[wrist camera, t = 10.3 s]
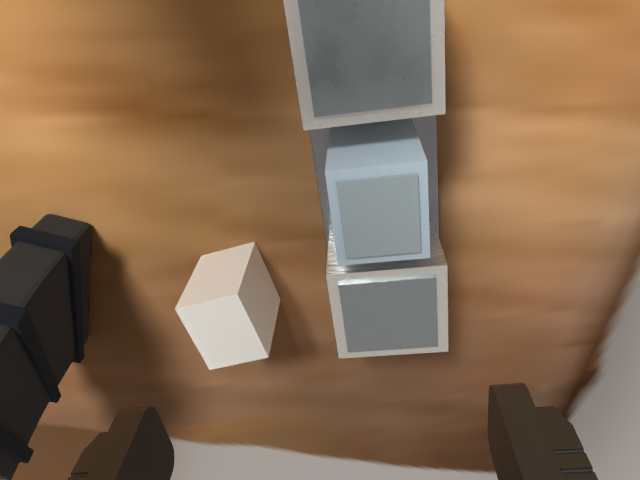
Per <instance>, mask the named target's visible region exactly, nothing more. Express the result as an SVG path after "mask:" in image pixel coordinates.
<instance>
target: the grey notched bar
mask: <svg viewBox="0 0 640 480" xmlns="http://www.w3.org/2000/svg"><path fill="white" fill-rule="evenodd" d="M283 2H284V9H285V15H286V22H287V28H288V35H289V41H290V47H291V54H292V60H293V67H294V73H295V80H296V86H297V92H298V99H299V105H300V112H301V118H302V125H303V131H304V130H310V136H311V142H312V149H313V156H314V163H315V169H316V176H317V183H318V189H319V196H320V203H321V209H322V216H323V223H324V230H325V236H326V243H327V250H328V255H327V268H326V279H327V285H328V292H329V298H330V305H331V311H332V317H333V324H334V330H335V337H336V343H337V350H338V356H339V358H355V357H371V356H387V355H402V354H418V353H434V352H448V275H447V262H446V259H445V256H444V252H443V249H442V246H441V243H440V239H439V212H438V163H437V115H441V114H446V103H445V17H444V0H283ZM407 118H412V120H413V123H414V126H415V129H416V131H417V134H418V137H419V139H420V142H421V145H422V148H423V150H424V153H425V156H426V159H427V166H428V198H429V231H430V258H424V259H412V260H400V261H388V262H377V263H365V264H353V265H341V266H338V263H337V255H336V248H335V241H334V234H333V227H332V220H331V212H330V205H329V198H328V191H327V184H326V177H325V166H326V158H327V149H328V141H329V133H330V127H339V126H347V125H356V124H364V123H373V122H381V121H390V120H399V119H407Z"/></svg>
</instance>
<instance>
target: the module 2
mask: <svg viewBox="0 0 640 480" xmlns="http://www.w3.org/2000/svg"><path fill="white" fill-rule="evenodd" d="M325 177H326V184H327V191H328V198H329V205H330V212H331V220H332V227H333V234H334V241H335V248H336V255H337V263H338V266H341V265H353V264H365V263H377V262H388V261H400V260H412V259H424V258H430V231H429V198H428V166H427V159H426V156H425V153H424V150H423V148H422V145H421V142H420V139H419V137H418V134H417V131H416V129H415V126H414V123H413V120H412V118H407V119H399V120H390V121H381V122H373V123H364V124H356V125H347V126H339V127H330V133H329V141H328V149H327V158H326V166H325Z"/></svg>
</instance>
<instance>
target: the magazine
mask: <svg viewBox="0 0 640 480" xmlns="http://www.w3.org/2000/svg"><path fill="white" fill-rule="evenodd" d="M10 239H11V245H12V248H11V249H10V250H9V251H8V252H7V253H6V254H5V255H4V256H3V257H2V258H1V259H0V479H4V480H11V479H12V477H13V475H14V473H15V471H16V468H17V466H18V464H19V462H24V463H28V462H29V460H30V458H31V456H32V454H33V450H32V449H31V448H29V447H28V446H27V445H28V443H29V441H30V438H31V436H32V434H33V432H34V430H35V428H36V426H37V424H38V422H39V419H40V418H41V416H42V414H43V412H44V410H45V408H46V406H47V404H48V403H49V401H50V402H55V403H57V402H58V401H59V399H60V397H61V394H60V392H59V389H58V385H59V383H60V381H61V379H62V378H63V376H64V374H65V373H66V371H67V369H68V368H69V366H70V365H71V363H72V362H77V363H81V361H82V360H83V358H84V343H85V342H86V340H87V337H88V306H89V274H90V242H91V226H90V224H88V223H85V222H81V221H77V220H73V219H69V218H65V217H61V216H57V215H53V214H48V215H45V216H44V217H43V218H42V219H41V220H40V221H39V222H38V223H37V224H36V225H35V226H34V227H33V228H27V227H23V226H19V227H18V228H17V229H15V230H14V231H13V232H12V233H11V234H10Z"/></svg>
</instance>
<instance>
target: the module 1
mask: <svg viewBox="0 0 640 480" xmlns="http://www.w3.org/2000/svg"><path fill="white" fill-rule="evenodd" d="M279 304H280V297H279V295H278V293H277V290H276V288H275V286H274V284H273V281H272V279H271V277H270V275H269V272H268V270H267V268H266V266H265V263H264V261H263V259H262V257H261V254H260V252H259V250H258V248H257V245H256V243H255V242H252V243H248V244H244V245H240V246H236V247H233V248H229V249H225V250H221V251H217V252H213V253H210V254H206V255H202V256H201V257H200V259H199V261H198V263H197V265H196V267H195V269H194V271H193V273H192V275H191V277H190V280H189V282H188V284H187V286H186V288H185V290H184V292H183V294H182V296H181V298H180V300H179V302H178V304H177V306H176V308H175V310H176V312H177V314H178V315H179V317H180V319H181V321H182V322H183V324H184V326H185V328H186V329H187V331H188V333H189V335H190V336H191V338H192V340H193V342H194V343H195V345H196V347H197V349H198V350H199V352H200V354H201V356H202V357H203V359H204V361H205V362H206V364H207V366H208V368H209V369H210V370H212V369H217V368H221V367H226V366H231V365H236V364H240V363H245V362H250V361H255V360H259V359H264V358H269V353H270V348H271V343H272V338H273V333H274V329H275V324H276V319H277V314H278V309H279Z"/></svg>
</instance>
